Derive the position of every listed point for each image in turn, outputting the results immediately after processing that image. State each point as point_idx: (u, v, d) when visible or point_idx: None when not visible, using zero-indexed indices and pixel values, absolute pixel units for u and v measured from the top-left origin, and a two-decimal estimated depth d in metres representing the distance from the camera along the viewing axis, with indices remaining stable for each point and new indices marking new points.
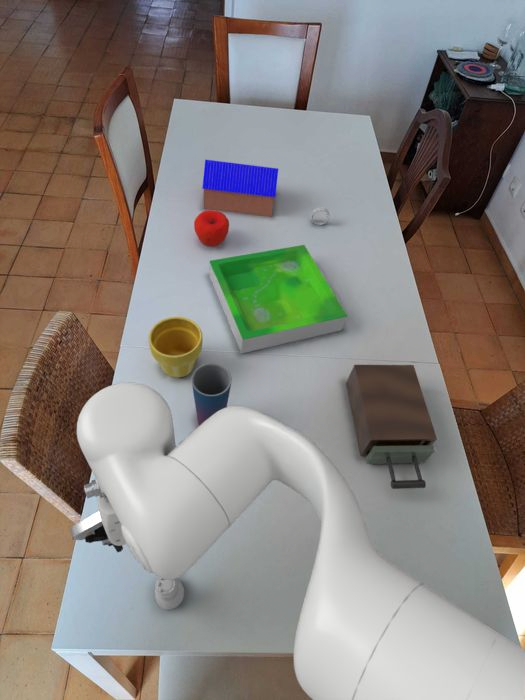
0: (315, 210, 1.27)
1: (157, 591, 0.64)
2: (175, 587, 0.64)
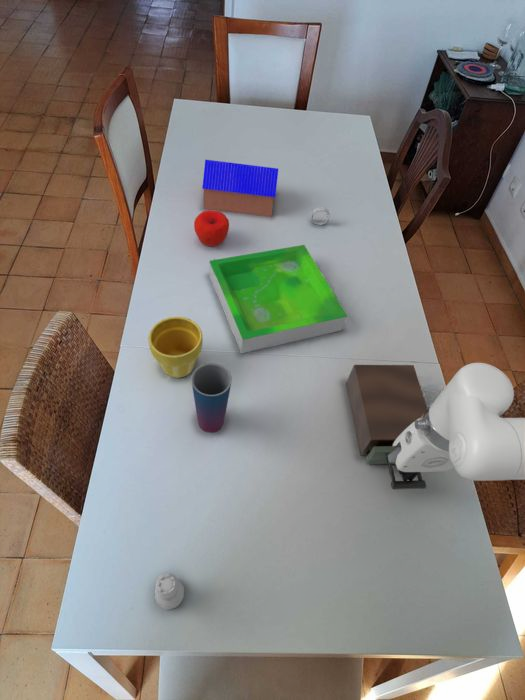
0: (315, 210, 1.27)
1: (157, 591, 0.64)
2: (175, 587, 0.64)
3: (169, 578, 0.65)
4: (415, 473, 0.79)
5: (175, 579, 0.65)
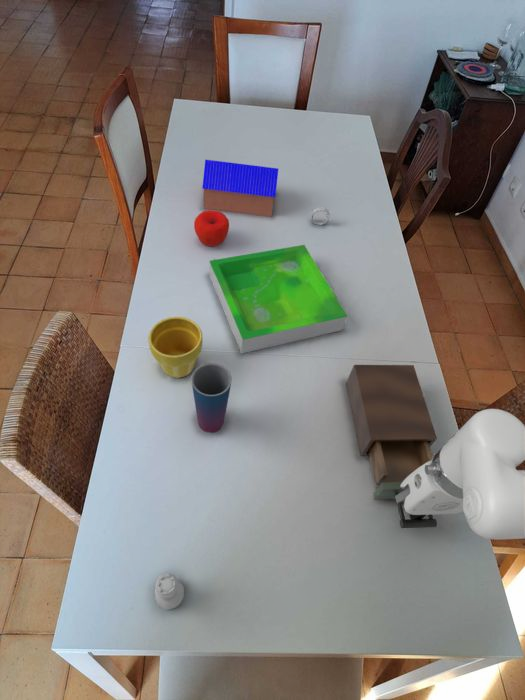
0: (315, 210, 1.27)
1: (157, 591, 0.64)
2: (175, 587, 0.64)
3: (169, 578, 0.65)
4: None
5: (175, 579, 0.65)
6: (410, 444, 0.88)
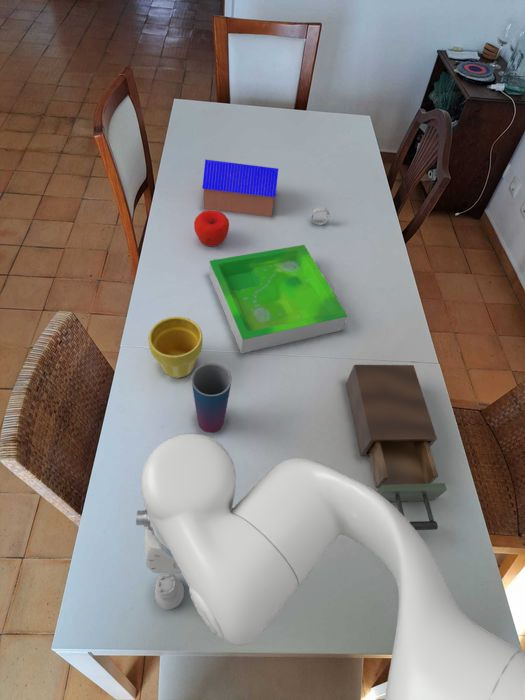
0: (315, 210, 1.27)
1: (157, 591, 0.64)
2: (175, 587, 0.64)
3: (169, 578, 0.65)
4: None
5: (175, 579, 0.65)
6: (411, 446, 0.88)
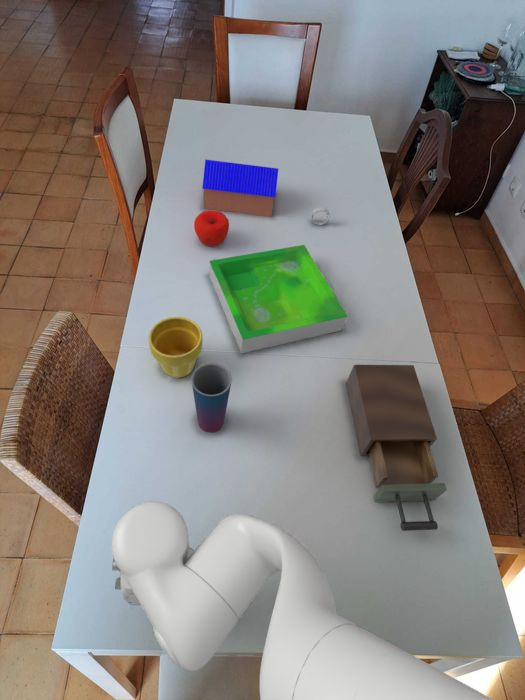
0: (315, 210, 1.27)
1: None
2: None
3: None
4: None
5: None
6: (411, 446, 0.88)
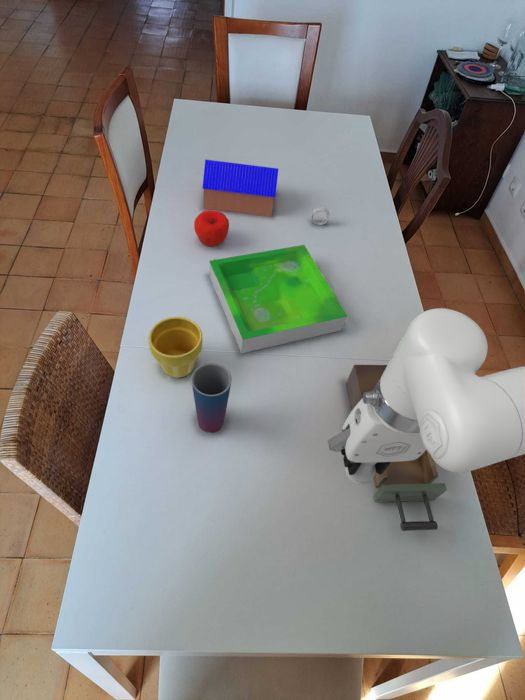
0: (315, 210, 1.27)
1: None
2: None
3: None
4: (384, 464, 0.63)
5: None
6: None
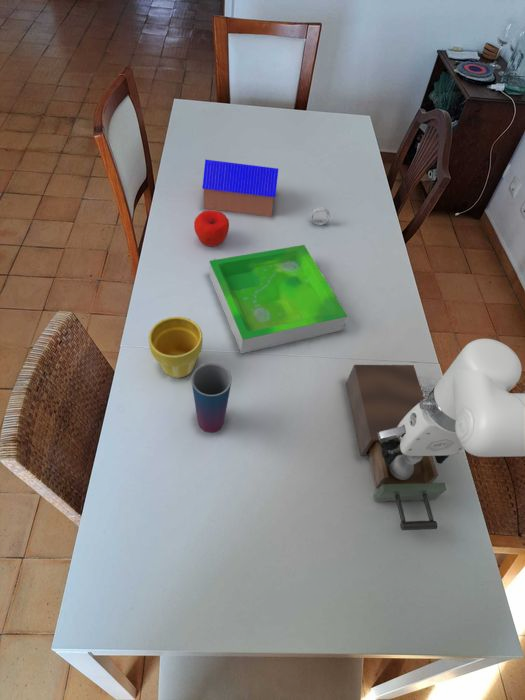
0: (315, 210, 1.27)
1: (408, 457, 0.78)
2: None
3: None
4: (445, 455, 0.77)
5: None
6: None
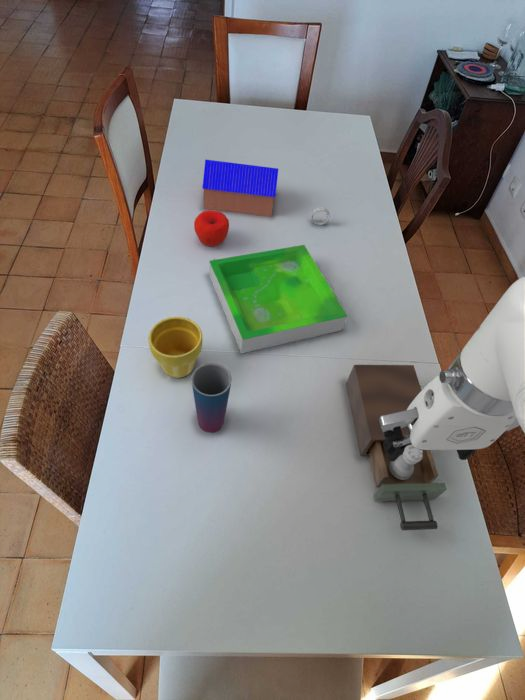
0: (315, 210, 1.27)
1: (408, 457, 0.78)
2: (421, 454, 0.79)
3: None
4: (472, 449, 0.57)
5: (419, 449, 0.79)
6: None
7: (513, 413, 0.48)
